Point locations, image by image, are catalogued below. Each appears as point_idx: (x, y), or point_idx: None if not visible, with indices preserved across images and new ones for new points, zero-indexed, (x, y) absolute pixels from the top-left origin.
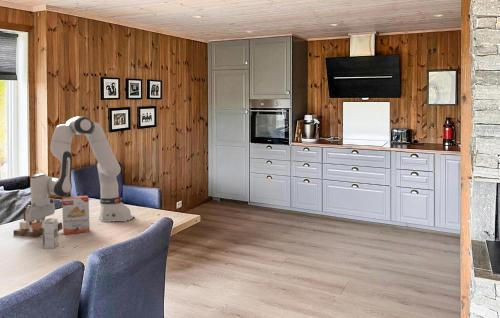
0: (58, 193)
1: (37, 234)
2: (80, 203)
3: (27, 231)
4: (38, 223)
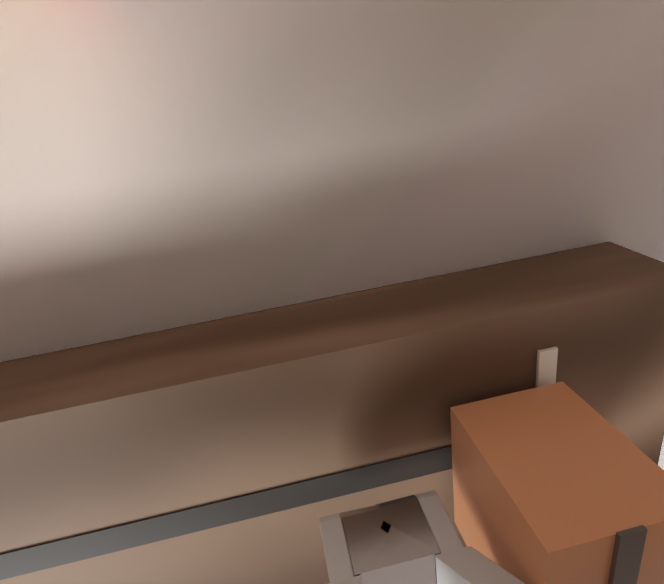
0: None
1: (616, 264)
2: None
3: (650, 456)
4: (638, 491)
